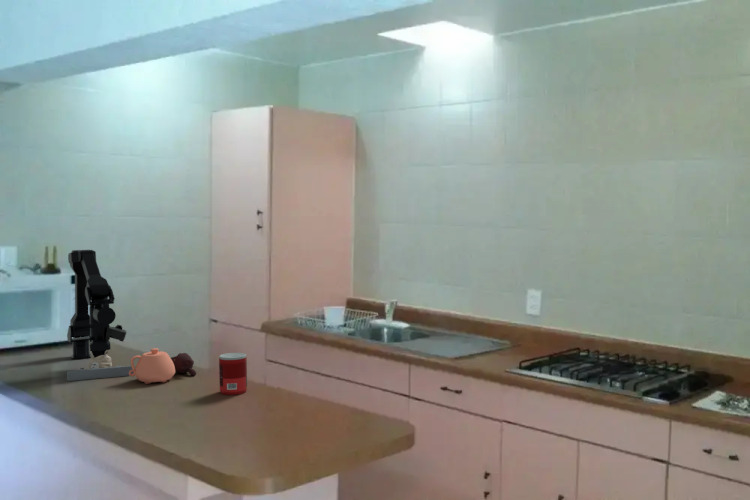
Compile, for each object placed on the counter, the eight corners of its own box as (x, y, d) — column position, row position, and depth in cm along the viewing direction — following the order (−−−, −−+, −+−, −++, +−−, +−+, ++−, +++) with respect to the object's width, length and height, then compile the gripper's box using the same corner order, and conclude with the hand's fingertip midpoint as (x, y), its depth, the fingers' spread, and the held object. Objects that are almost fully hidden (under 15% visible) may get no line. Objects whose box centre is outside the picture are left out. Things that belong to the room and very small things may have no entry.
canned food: (252, 391, 216) (251, 354, 215) (230, 396, 210) (229, 359, 209) (236, 387, 221) (236, 351, 221) (214, 392, 215) (213, 355, 215)
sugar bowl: (176, 383, 227) (176, 350, 226) (129, 387, 222) (128, 354, 222) (174, 374, 238) (173, 343, 238) (128, 378, 234) (128, 346, 233)
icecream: (158, 352, 242) (181, 363, 232) (178, 344, 247) (201, 354, 236) (163, 371, 244) (185, 383, 234) (182, 362, 249) (205, 373, 238)
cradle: (67, 376, 236) (67, 367, 236) (132, 371, 244) (132, 362, 243) (67, 381, 231) (67, 371, 230) (133, 375, 238) (133, 366, 238)
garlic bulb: (95, 377, 235) (94, 353, 234) (86, 374, 239) (85, 350, 239) (114, 374, 240) (114, 350, 239) (106, 371, 244) (105, 347, 244)
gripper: (126, 323, 237) (127, 370, 238) (123, 314, 254) (124, 358, 255) (89, 325, 233) (90, 373, 234) (88, 316, 250) (90, 361, 251)
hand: (100, 366), depth 244 cm, fingers closed
